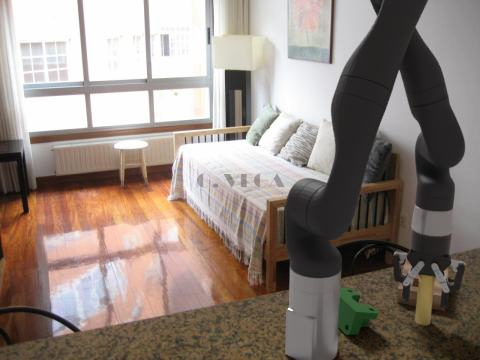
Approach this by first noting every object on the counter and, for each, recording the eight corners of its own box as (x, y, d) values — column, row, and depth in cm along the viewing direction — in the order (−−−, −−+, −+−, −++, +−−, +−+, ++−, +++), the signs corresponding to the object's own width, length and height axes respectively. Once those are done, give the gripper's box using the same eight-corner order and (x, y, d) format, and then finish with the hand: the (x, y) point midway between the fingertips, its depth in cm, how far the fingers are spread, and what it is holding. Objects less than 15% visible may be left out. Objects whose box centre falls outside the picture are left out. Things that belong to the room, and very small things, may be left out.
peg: (426, 327, 106) (431, 278, 103) (412, 321, 108) (417, 273, 105) (432, 321, 108) (437, 273, 105) (418, 316, 110) (423, 268, 107)
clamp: (363, 348, 107) (385, 320, 102) (339, 347, 104) (359, 319, 100) (343, 302, 116) (361, 274, 111) (319, 300, 114) (337, 272, 109)
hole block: (444, 311, 112) (446, 296, 111) (396, 302, 116) (398, 288, 115) (447, 276, 128) (448, 263, 127) (405, 270, 132) (406, 257, 131)
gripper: (471, 226, 103) (461, 301, 108) (396, 217, 109) (390, 289, 113) (471, 239, 97) (461, 319, 101) (391, 229, 102) (386, 305, 106)
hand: (424, 303), depth 107 cm, fingers open, 6 cm apart
